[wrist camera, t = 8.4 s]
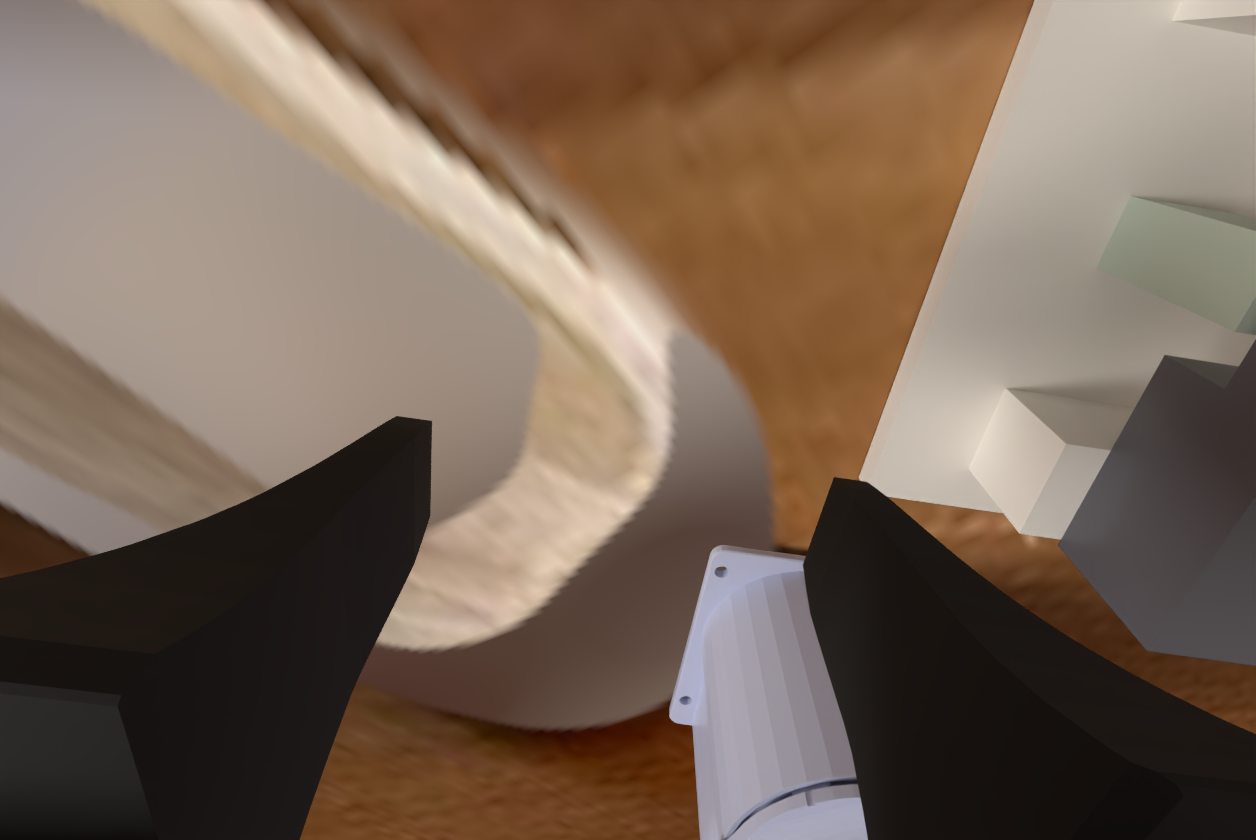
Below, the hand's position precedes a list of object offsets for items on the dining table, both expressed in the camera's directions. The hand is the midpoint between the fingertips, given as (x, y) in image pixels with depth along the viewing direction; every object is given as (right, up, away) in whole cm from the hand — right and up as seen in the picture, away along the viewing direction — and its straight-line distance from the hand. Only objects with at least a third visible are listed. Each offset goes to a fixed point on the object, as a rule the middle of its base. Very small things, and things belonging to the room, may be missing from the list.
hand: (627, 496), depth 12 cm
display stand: (+15, +7, +8) cm, 18 cm away
